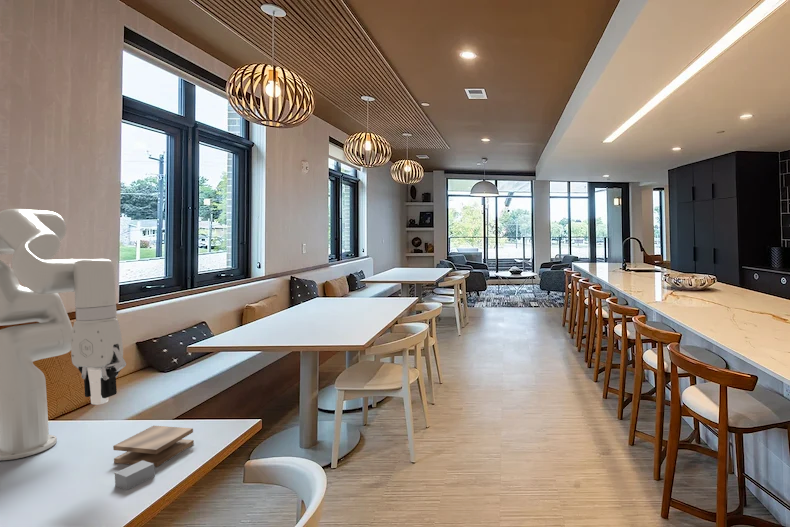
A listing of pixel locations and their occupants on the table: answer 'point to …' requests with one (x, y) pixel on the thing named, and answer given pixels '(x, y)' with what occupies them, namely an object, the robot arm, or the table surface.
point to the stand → (154, 445)
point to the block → (134, 475)
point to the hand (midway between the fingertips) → (101, 394)
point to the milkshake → (96, 385)
